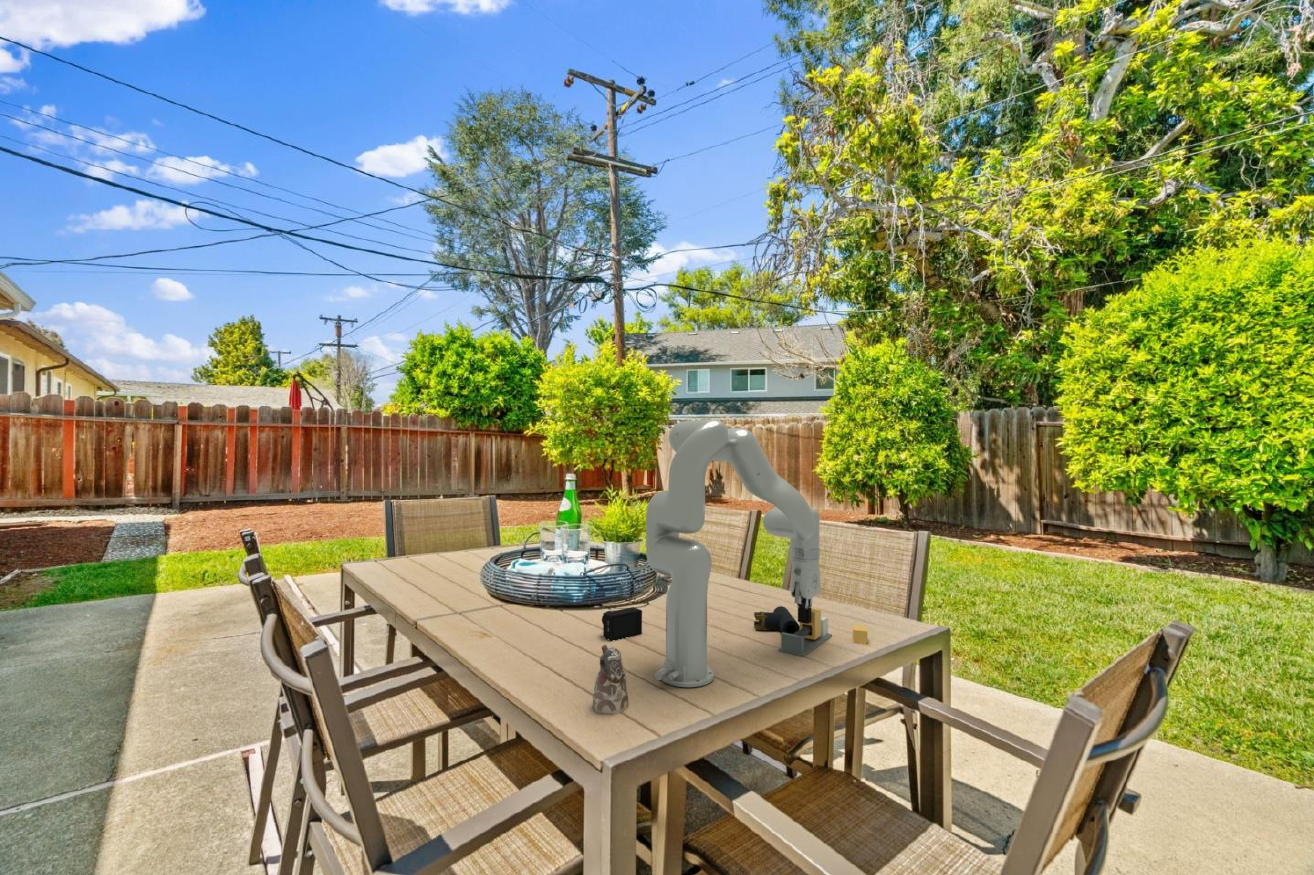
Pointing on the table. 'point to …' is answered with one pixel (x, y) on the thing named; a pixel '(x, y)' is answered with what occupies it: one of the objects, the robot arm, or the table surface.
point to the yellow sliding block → (814, 624)
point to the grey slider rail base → (804, 640)
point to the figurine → (610, 684)
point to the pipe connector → (776, 621)
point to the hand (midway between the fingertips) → (804, 622)
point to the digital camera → (622, 623)
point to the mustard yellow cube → (859, 634)
